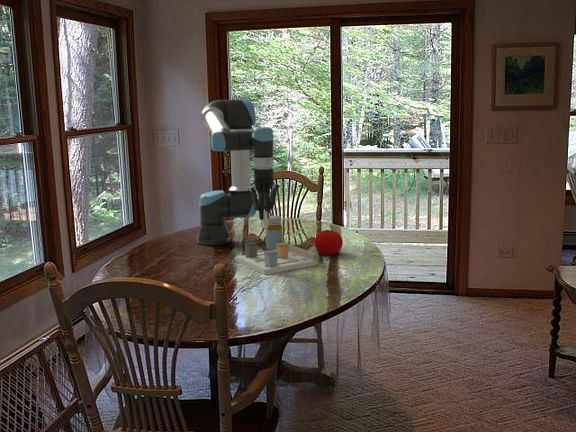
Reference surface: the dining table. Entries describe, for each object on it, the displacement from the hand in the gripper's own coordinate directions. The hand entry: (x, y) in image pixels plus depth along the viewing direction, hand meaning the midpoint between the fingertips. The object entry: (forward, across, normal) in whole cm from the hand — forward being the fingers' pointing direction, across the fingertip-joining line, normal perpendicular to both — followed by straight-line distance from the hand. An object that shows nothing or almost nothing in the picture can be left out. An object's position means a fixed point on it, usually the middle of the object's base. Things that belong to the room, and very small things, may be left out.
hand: (264, 227), depth 236 cm
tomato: (+16, +31, -1) cm, 34 cm away
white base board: (+15, +5, -1) cm, 16 cm away
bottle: (+16, +15, +17) cm, 28 cm away
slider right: (+13, -2, -9) cm, 16 cm away
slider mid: (+13, +8, -1) cm, 15 cm away
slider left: (+13, -2, +7) cm, 15 cm away
